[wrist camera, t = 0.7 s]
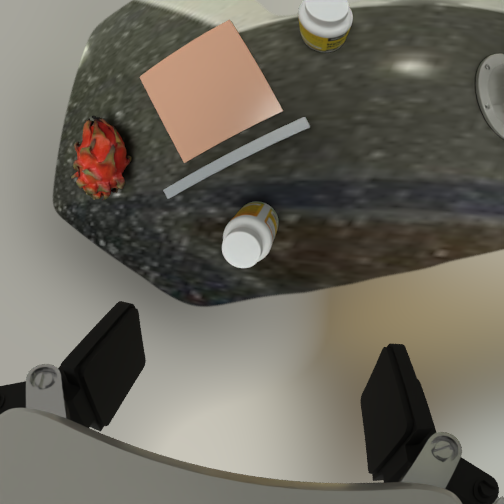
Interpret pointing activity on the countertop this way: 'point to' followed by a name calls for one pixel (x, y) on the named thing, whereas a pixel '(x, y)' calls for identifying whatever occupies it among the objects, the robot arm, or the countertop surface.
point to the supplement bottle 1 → (250, 234)
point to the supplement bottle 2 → (324, 23)
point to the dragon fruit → (100, 159)
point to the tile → (209, 91)
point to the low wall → (237, 155)
